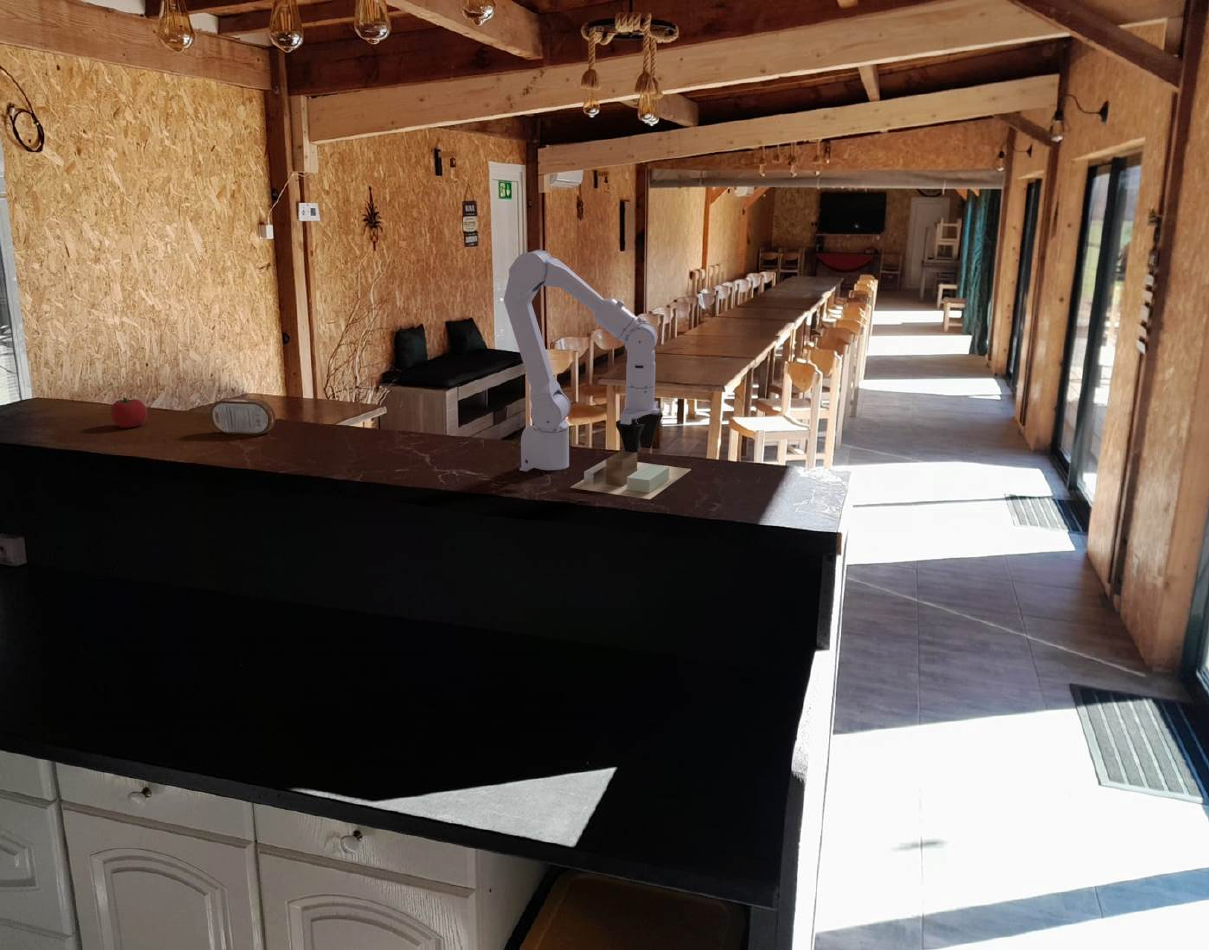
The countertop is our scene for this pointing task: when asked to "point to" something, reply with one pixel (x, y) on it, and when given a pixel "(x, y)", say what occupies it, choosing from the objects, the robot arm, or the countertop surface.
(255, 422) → the tin
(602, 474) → the block
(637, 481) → the block
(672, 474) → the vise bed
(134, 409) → the tomato
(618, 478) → the block
